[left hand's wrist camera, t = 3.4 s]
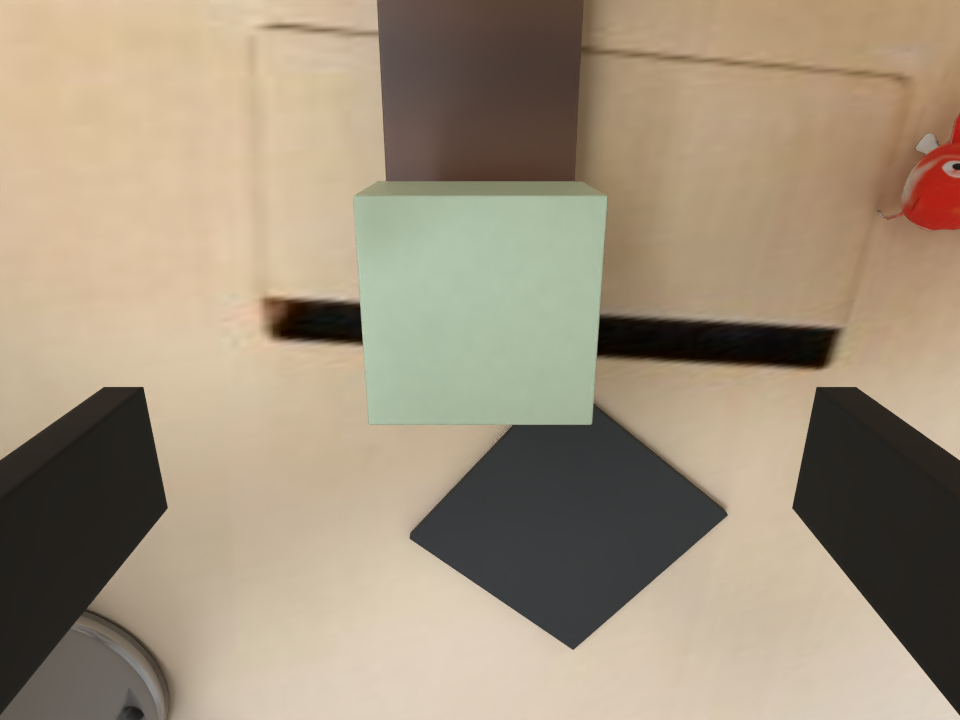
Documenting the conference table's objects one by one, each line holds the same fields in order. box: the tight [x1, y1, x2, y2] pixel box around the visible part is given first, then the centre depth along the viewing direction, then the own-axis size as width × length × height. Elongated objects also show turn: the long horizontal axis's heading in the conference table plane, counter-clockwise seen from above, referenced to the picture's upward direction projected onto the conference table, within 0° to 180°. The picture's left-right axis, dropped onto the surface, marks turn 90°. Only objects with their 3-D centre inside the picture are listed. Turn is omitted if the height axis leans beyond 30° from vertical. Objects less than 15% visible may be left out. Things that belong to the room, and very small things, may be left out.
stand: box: [377, 0, 583, 181], centre depth 27 cm, size 28×9×10 cm, turn 0°
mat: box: [410, 404, 727, 650], centre depth 40 cm, size 14×14×1 cm
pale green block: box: [353, 181, 608, 425], centre depth 24 cm, size 8×8×5 cm
